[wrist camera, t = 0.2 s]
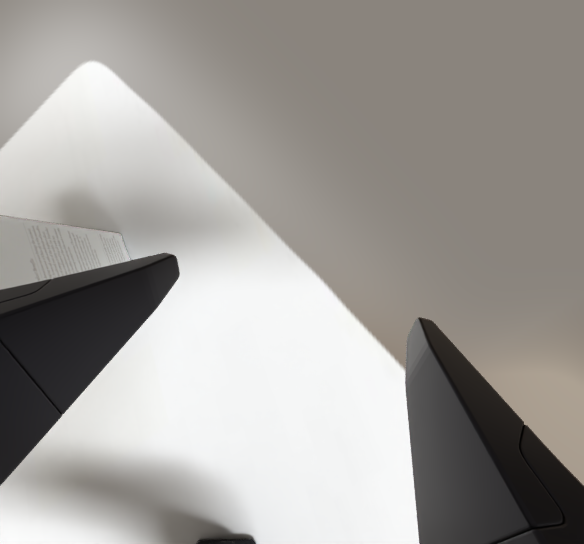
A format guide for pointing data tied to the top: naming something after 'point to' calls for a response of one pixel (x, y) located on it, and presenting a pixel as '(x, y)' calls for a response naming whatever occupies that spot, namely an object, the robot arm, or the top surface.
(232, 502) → the top surface
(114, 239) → the skincare box
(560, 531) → the robot arm
